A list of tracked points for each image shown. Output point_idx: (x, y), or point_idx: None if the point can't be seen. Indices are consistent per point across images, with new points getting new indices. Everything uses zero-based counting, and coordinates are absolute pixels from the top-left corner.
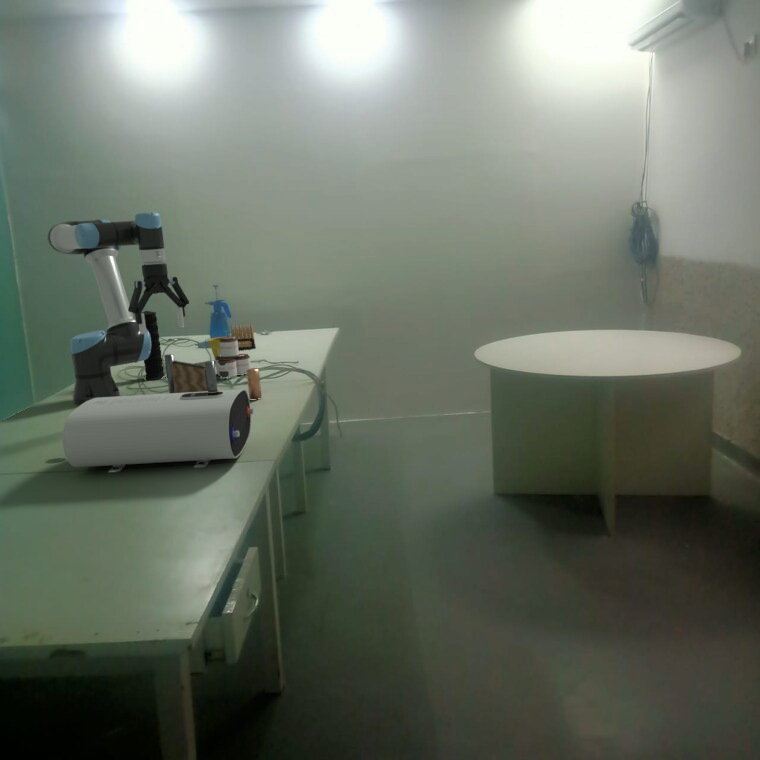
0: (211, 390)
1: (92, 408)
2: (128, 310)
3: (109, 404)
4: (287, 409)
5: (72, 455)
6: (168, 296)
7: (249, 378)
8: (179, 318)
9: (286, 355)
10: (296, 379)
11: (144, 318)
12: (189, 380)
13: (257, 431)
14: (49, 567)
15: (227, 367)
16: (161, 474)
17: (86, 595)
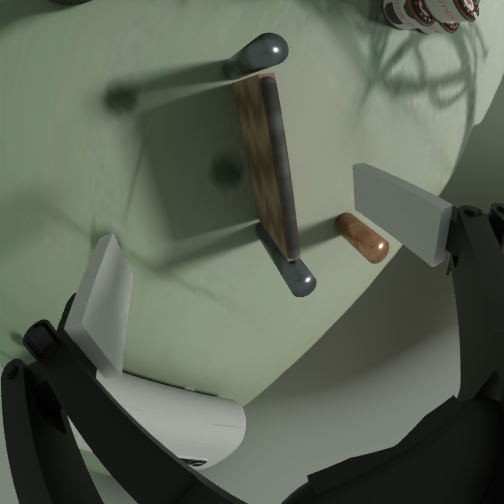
0: (196, 463)
1: None
2: (5, 374)
3: (83, 443)
4: (331, 311)
5: None
6: (484, 292)
7: (358, 249)
8: (386, 209)
9: (488, 5)
10: (445, 150)
11: (123, 344)
12: (262, 168)
13: (250, 371)
14: (82, 454)
15: (409, 21)
16: None
17: (103, 466)
